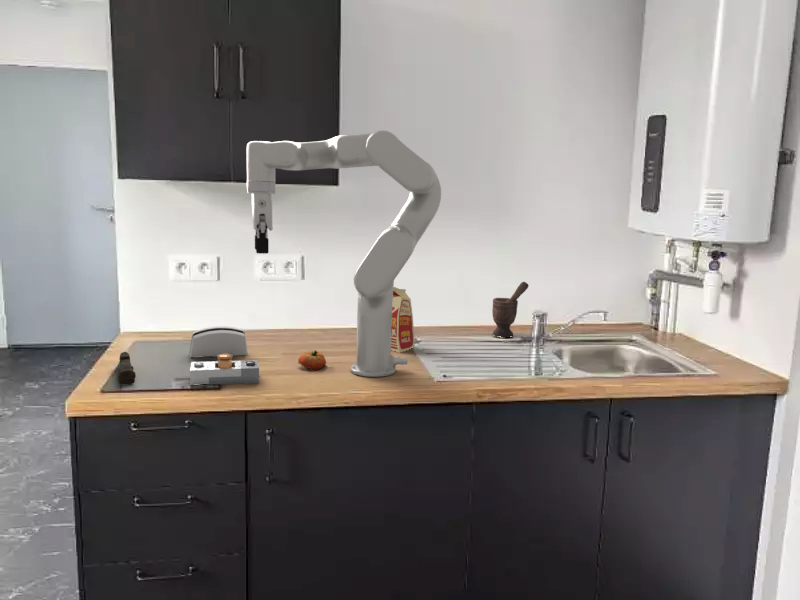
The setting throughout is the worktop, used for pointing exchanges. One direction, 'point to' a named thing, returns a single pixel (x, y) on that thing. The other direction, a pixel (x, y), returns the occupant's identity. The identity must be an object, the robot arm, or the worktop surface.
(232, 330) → the grey toaster
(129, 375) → the dark brown rounded rod
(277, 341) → the worktop surface
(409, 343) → the milk carton
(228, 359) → the pin
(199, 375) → the grey latch plate
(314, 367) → the tomato
